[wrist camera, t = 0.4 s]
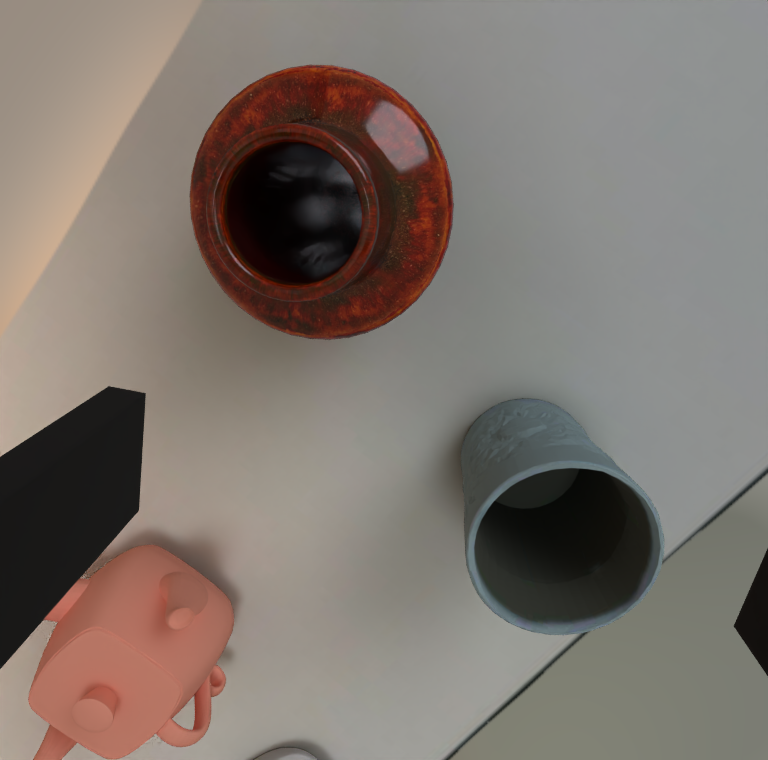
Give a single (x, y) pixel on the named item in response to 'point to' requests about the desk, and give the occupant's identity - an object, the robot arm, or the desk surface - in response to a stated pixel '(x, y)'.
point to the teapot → (131, 656)
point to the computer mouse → (287, 755)
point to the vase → (321, 202)
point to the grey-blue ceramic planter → (553, 522)
